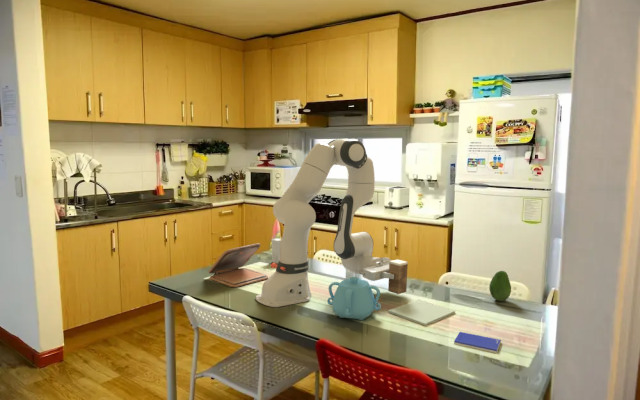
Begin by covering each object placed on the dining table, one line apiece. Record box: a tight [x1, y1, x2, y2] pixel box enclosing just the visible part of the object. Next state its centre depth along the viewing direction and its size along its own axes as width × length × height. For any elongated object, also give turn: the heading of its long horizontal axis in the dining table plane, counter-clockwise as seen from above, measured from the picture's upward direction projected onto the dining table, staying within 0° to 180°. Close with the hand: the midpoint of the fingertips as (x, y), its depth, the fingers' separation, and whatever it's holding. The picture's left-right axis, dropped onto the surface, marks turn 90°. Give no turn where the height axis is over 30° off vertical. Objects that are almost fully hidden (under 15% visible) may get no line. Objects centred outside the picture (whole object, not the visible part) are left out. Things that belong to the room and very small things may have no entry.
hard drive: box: [453, 331, 502, 354], centre depth 138 cm, size 2×8×12 cm
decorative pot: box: [327, 276, 382, 321], centre depth 160 cm, size 16×16×14 cm
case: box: [208, 242, 269, 288], centre depth 202 cm, size 20×21×16 cm
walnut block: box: [387, 259, 409, 295], centre depth 176 cm, size 5×5×12 cm
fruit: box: [489, 270, 512, 302], centre depth 175 cm, size 8×8×12 cm
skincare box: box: [271, 237, 282, 265], centre depth 230 cm, size 6×4×12 cm
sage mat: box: [388, 299, 456, 327], centre depth 163 cm, size 18×16×1 cm
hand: (399, 275), depth 175 cm, fingers closed on walnut block, 5 cm apart
